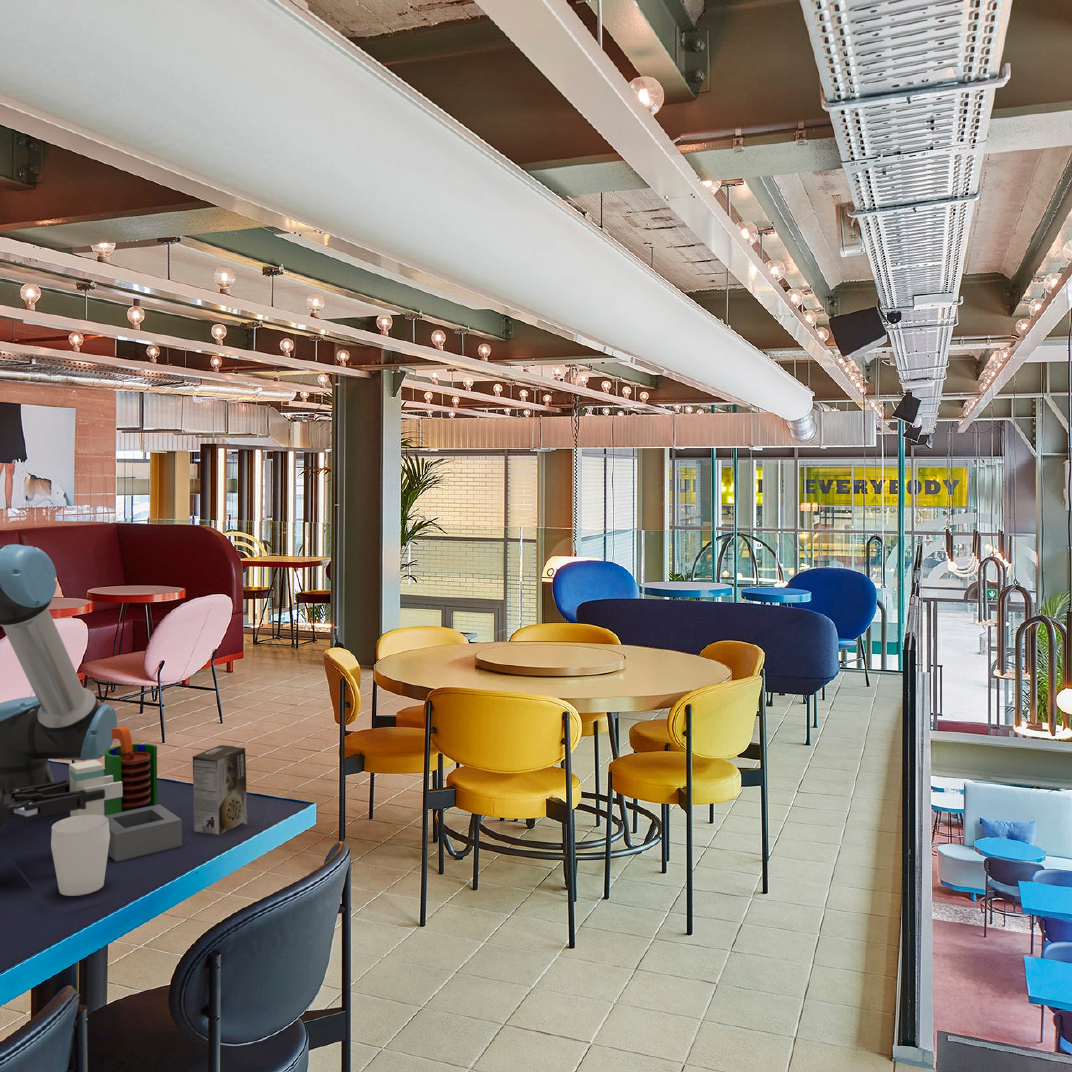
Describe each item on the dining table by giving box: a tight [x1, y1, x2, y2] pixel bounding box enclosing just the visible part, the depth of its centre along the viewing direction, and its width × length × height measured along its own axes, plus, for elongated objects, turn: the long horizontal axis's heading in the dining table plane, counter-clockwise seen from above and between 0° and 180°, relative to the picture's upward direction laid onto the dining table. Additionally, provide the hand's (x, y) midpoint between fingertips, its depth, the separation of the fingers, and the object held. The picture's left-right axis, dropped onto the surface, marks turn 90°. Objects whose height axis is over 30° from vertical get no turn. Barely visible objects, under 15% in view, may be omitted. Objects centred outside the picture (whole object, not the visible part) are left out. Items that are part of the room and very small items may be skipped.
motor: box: [103, 726, 158, 816], centre depth 195 cm, size 10×9×20 cm
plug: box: [68, 759, 105, 817], centre depth 176 cm, size 5×5×16 cm
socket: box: [104, 803, 183, 862], centre depth 182 cm, size 12×12×6 cm
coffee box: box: [192, 744, 248, 835], centre depth 193 cm, size 9×6×16 cm
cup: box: [50, 814, 110, 897], centre depth 163 cm, size 9×9×12 cm
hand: (117, 785), depth 179 cm, fingers closed on plug, 5 cm apart
